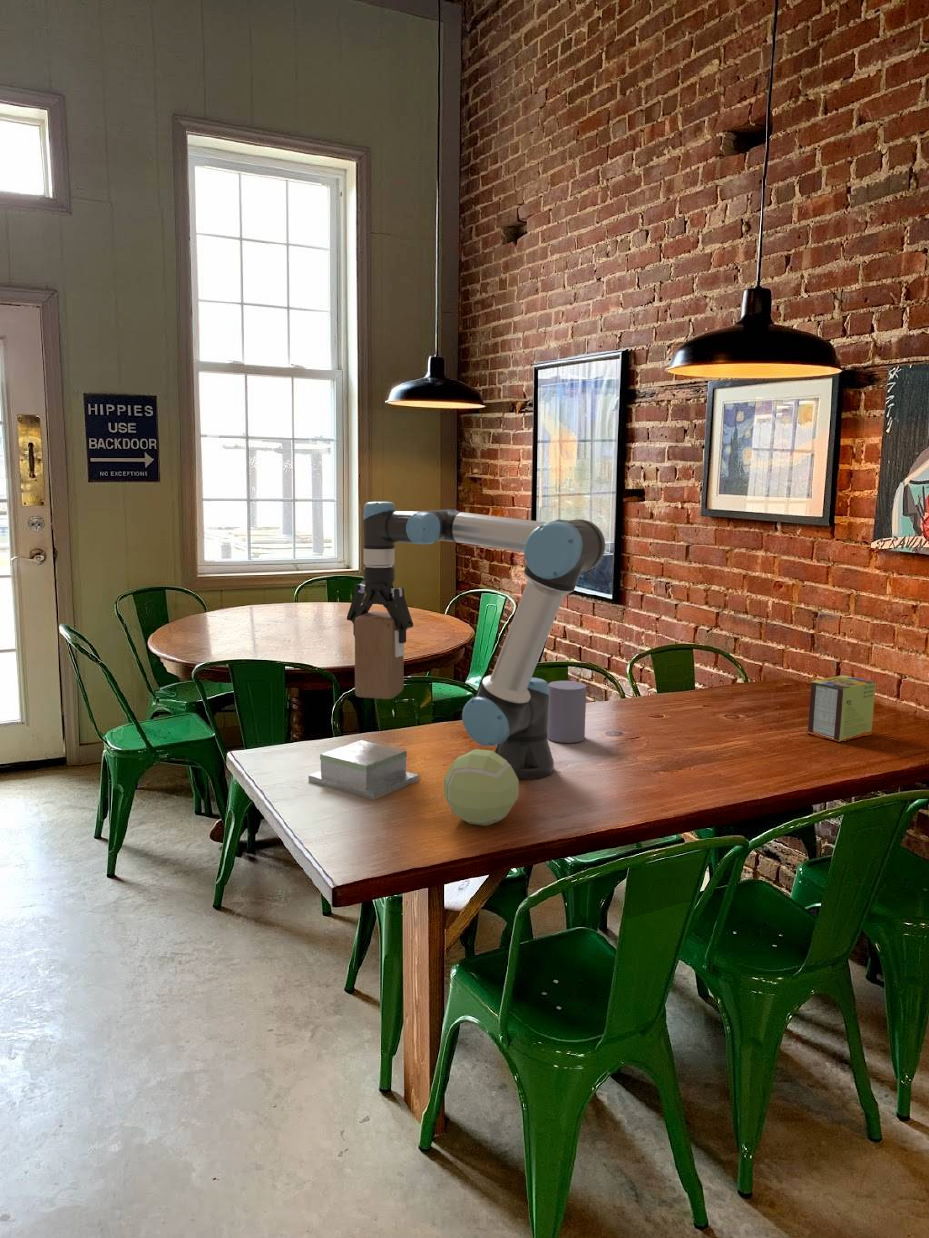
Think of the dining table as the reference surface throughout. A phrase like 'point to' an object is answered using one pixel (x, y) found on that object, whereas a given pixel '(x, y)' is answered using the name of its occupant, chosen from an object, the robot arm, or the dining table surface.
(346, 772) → the stand
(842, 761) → the dining table surface
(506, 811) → the tennis ball
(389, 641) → the wooden block
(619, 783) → the dining table surface
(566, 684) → the container
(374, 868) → the dining table surface
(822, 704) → the protein box
